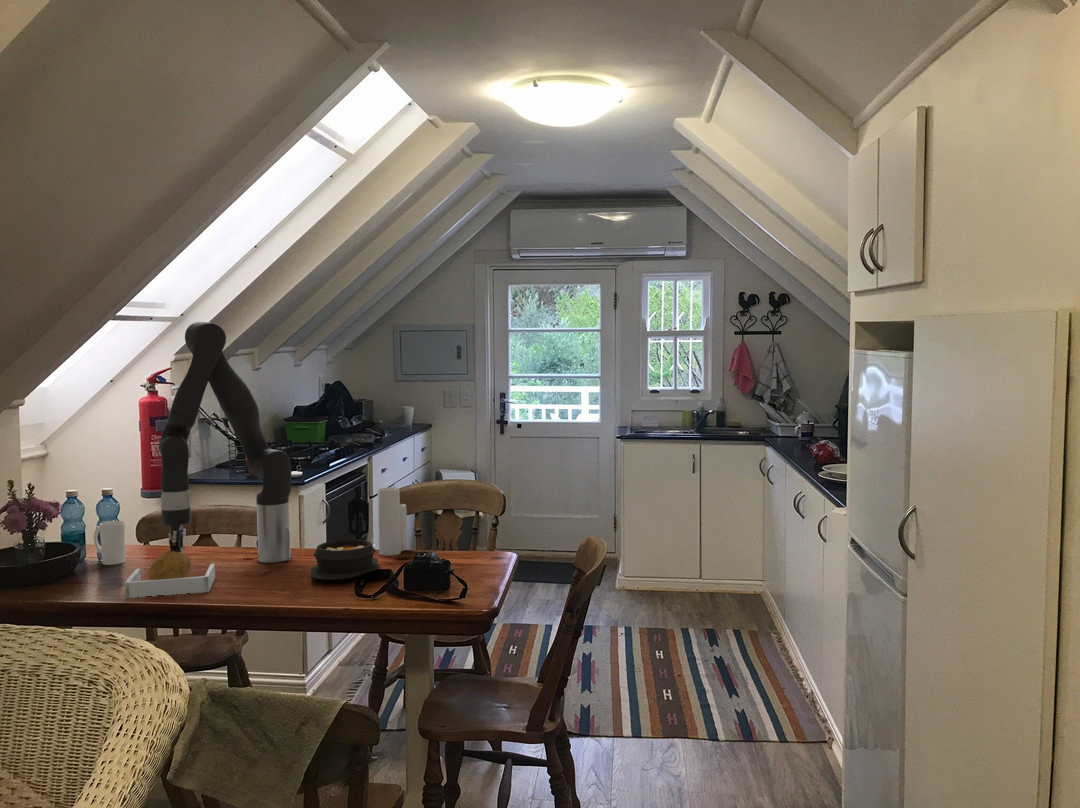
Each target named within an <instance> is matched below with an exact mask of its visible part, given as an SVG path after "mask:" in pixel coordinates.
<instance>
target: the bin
mask: <svg viewBox="0 0 1080 808" xmlns="http://www.w3.org/2000/svg"><path fill="white" fill-rule="evenodd" d="M141 576H142V575H141V568H136V569H135V570H134V571H133V572H132V573H131V575H130V576H129V577H128V578H127V579H126V581H125V582H124V599H125V600H126V599H136V598H137V597H139V598H147V597H146V596H152V597H158V596H157V595H164V596H174V595H175V596H176V594H177V595H188V594H187V593H190V594H200V593H201V594H202V593H209V592H210V590H211V588H212V586H213V584H214V581H215V579H216V563H211V564H210V565H209V567H208V568H207V571H206V572H205V575H204V576H203V575H201V576H190V577H187V576H186V577H185V578H174V579H160V580H150V579H149V580H141V579H142V578H141ZM173 594H174V595H173Z"/></svg>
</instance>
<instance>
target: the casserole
mask: <svg viewBox="0 0 1080 808" xmlns="http://www.w3.org/2000/svg"><path fill="white" fill-rule="evenodd" d="M376 551H377V550H376V548H374V546H373V543H372V542H371V541H370V540H369V541H368V540H366V539H352V538H351V539H350V538H349V539H348V538H347V539H337V540H331V541H330V540H329V541H326V542H323V543H320V544H318V545H317V547H316V549H315V551H314V553H313V557H314V558H315V559H316V565H313V567H311V569H310V572H311V573H310V576H309V577H310V578H312V579H315V580H324V581H325V580H326V581H339V580H340V581H341V580H348V579H355V578H359V577H361V576H364V575H363V574H365V573H367V572H369V573H371V572H370V571H372V572H374V571H376V570H377V569H378V568H380V565H379V563H378V562H379V559H378V558H376V557H374V554H375V553H376ZM367 574H368V573H367ZM365 575H366V574H365Z"/></svg>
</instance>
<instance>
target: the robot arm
mask: <svg viewBox="0 0 1080 808" xmlns="http://www.w3.org/2000/svg"><path fill="white" fill-rule="evenodd" d="M226 334H227V333H226V332H225V329H224V328H223V327H222V326H221V325H219V324H218V323H215V322H209V321H195V322H192V323H190V324H189V325H188V326H187V328H186V330H185V333H184V341H185V344H186V346H187V348H188V350H189V351H190V353H191V354H192V356H191V357H192V358H191V362H190V365H189V367H188V369H187V372H186V374H185V376H184V378H183V380H182V382H181V383H180V385H179V387H178V389H177V391H176V393H175V394H174V398H173V400H172V401H173V402H172V404H171V408H170V411H169V414H168V418H167V422H166V424H165V426H164V429H163V431H162V434H161V437H160V440H159V442H158V443H159V444H158V450H159V453H160V454H161V465H162V467H161V468H162V472H161V477H160V478H161V479H160V480H161V481H160V483H161V485H160V486H161V495H160V496H161V497H160V506H161V507H160V509H161V511H160V512H161V524H162V525H163V526H166V527H167V526H168V527H170V530H169V531H168V533H167V534H168V545H169V548H170V550H169V551H175V552H181V553H184V554H185V552H184V551H185V545H186V532H187V531H186V528H184V526H185V525H188V524H190V523H191V522H192V507H191V503H192V502H191V494H190V493H191V492H190V487H189V486H190V483H189V472H188V471H189V461H190V460H189V459H190V457H189V456H190V453H189V452H190V451H189V449H190V448H189V444H188V440H189V436H190V433H191V430H192V428H194V426H195V423H196V421H197V418H198V415H199V411H200V408H201V404H202V401H203V398H204V396H205V395H204V394H205V391H206V388H207V385H208V384H209V386H210V388H211V390H212V392H213V394H214V396H215V399H217V402H218V403H219V406H220V408H221V410H222V411H223V414H224V415H225V417H226V419H227V421H228V422H229V425H230V427H231V429H232V430H233V432H234V434H235V436H236V438H237V439H238V441H239V443H240V446H241V448H242V451H243V453H244V456H245V458H246V461H247V463H248V466H249V469H250V470H251V472H252V474H254V476H256V477H257V478H259V479H261V480H262V490H261V491H260V492H258V493H256V525H257V527H256V528H257V529H256V532H257V555H258V562H260V563H265V564H266V563H267V564H268V563H269V564H270V563H271V564H273V563H282V562H286V561H291V557H292V555H291V554H292V553H291V550H292V549H291V525H290V505H289V504H290V503H289V497H290V495H291V491H292V462H291V459H290V456H289V454H288V453H287V452H285V451H283V450H282V449H281V450H280V449H274V448H273V449H272V447H270V445H269V444H268V442H267V440H266V439H265V436H264V435H263V432H262V429H261V423H260V412H259V411H260V410H259V406H258V404H257V402H256V400H255V398H254V396H253V393H252V392H251V390H250V388H249V387H248V385H247V384H246V383H245V380H243V379H242V377H241V376H240V375H239V374H238V372H236V370H235V369H234V368H233V367H232V366H231V364H230V363H229V361H228V360H227V358H226V356H225V353H224V352H223V350H224V348H225V346H226V343H227V335H226Z"/></svg>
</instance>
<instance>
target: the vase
mask: <svg viewBox="0 0 1080 808" xmlns="http://www.w3.org/2000/svg"><path fill="white" fill-rule="evenodd" d="M400 492H401V490H400V488H399V487H395V486H386V487H385V486H383V487H379V488H377V515H378V518H377V519H378V520H377V521H378V553H379V555H380V556H384V557H385V556H389V557H391V556H398V555H400V554H401V553H402V552H404V551H407V550H408V528H407V527H408V523H407V522H408V521H407V519H408V518H407V517H408V516H407V504H405V503H401V501H400V500H401V499H400V498H401V497H400V496H401V495H400V494H401V493H400Z"/></svg>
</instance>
